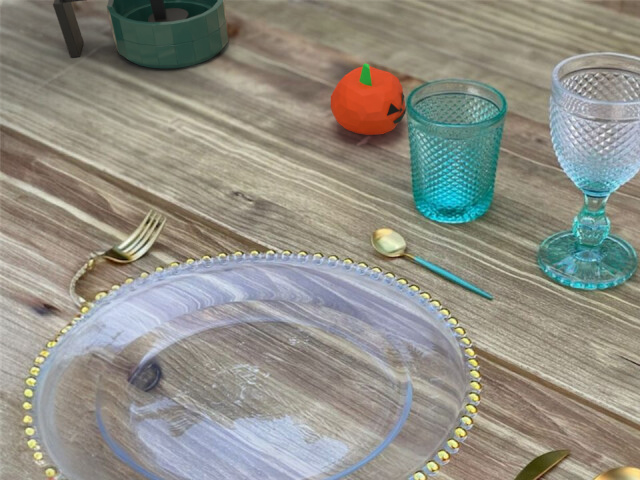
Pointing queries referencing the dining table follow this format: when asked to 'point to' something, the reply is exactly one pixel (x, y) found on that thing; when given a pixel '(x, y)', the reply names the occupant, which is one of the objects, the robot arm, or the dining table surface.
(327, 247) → the dining table surface
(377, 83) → the pumpkin
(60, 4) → the dark grey desk lamp
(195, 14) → the bowl
